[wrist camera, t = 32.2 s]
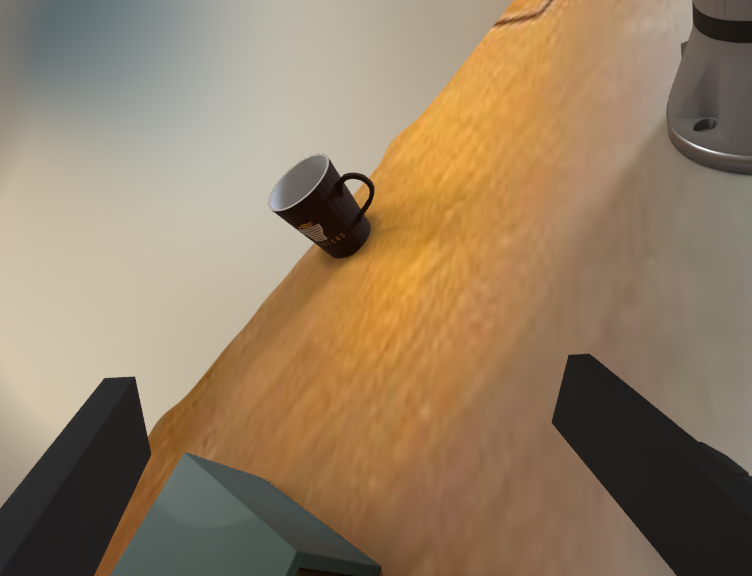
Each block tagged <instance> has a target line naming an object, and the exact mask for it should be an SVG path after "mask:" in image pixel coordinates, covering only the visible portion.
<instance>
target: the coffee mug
mask: <svg viewBox="0 0 752 576" xmlns="http://www.w3.org/2000/svg"><path fill="white" fill-rule="evenodd" d="M348 179H357V180H361V181H363V182H364V183H365V184H367V186H368V187H369V190H370V194H369V198H368V200H367V201H366V203H365V205H364V206H363V207H362V209H360V207H359V206H358V204H357V202H356V201H355V199H354V198H353V196H352V195H351V193H350V191H349V190H348V188H347V187H346V185H345V184H344V182H345V181H346V180H348ZM374 190H375V189H374V185H373V183H372V181H371V180H370V179H368V178H367V177H366V176H365V175H363V174H359V173H347V174H344V175H343V176H342V177H340V175H339V174H338V172H337V171H336V169H335V168H334V166H333V164H332V163H331V161H330V159H329V158H328V156H327V155H325V154H321V153H319V154H314V155H311V156H309V157H307V158H305V159H303V160H302V161H300V162H298V163H297V164H296V165H294V166H293V167H292V168H291V169H289V170H288V171H287V172H286V174H284V175H283V176H282V178H281V179H280V180H279V181H278V183H277V184H276V185H275V187H274V188H273V190H272V192H271V194H270V197H269V201H268V205H269V208H270V209H271V210H272V211H273V212H275V213H276V214H277V215H279V216H280V217H281V218H283V219H284V220H285V221H286V222H288V223H289V224H290V225H292V226H293V227H294V228H296V229H297V230H298V231H300V232H301V233H303V234H304V235H305V236H306V237H307V238H309V239H310V240H312V241H313V242H314V243H315V244H317V245H318V246H319V247H321V248H322V249H323V250H325V251H326V252H327V253H328V254H330V255H331V256H332V257H334V258H344V257H347V256H349V255H351V254H353V253H354V252H356V251H357V250H358V249H359V248H360V247H361V246H362V245H363V244H364V243H365V241H366V240H367V238H368V236H369V233H370V223H369V222H368V220H367V218H366V217H365V215H364V213H365V212H366V210H367V209H368V207H369V206H370V204H371V202H372V199H373V196H374Z"/></svg>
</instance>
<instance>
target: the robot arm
mask: <svg viewBox="0 0 752 576" xmlns="http://www.w3.org/2000/svg"><path fill="white" fill-rule="evenodd" d="M681 55H682V60H681V63H680V65H679V68H678V71H677V74H676V77H675V80H674V83H673V85H672V88H671V91H670V94H669V99H668V103H667V126H668V133H669V136H670V138H671V141H672V142H673V144H674V145H675V146H676V147H677V148H678V149H679V151H681V152H682V153H683V154H684V155H686V156H688V157H689V158H691V159H693V160H695V161H697V162H699V163H701V164H704V165H707V166H710V167H714V168H717V169H722V170H727V171H732V172H740V173H752V0H693V28H692V31H691V34H690V37H689V40H688V41H687V42H684V43H682V44H681ZM552 424H553V425H554V426H555V427H556V429H557V430H558V431H559V432H560V434H561V435H562V436H563V437H564V438H565V440H566V441H567V442H568V443H569V445H570V446H571V447H572V448H573V449H574V451H575V452H576V453H577V454H578V456H579V457H580V458H581V459H582V460H583V462H584V463H585V464H586V465H587V467H588V468H589V469H590V470H591V471H592V473H593V474H594V475H595V476H596V477H597V479H598V480H599V481H600V482H601V484H602V485H603V486H604V487H605V488H606V490H607V491H608V492H609V493H610V495H611V496H612V497H613V498H614V499H615V501H616V502H617V503H618V504H619V506H620V507H621V508H622V509H623V510H624V512H625V513H626V514H627V515H628V517H629V518H630V519H631V520H632V521H633V523H634V524H635V525H636V526H637V528H638V529H639V530H640V531H641V532H642V534H643V535H644V536H645V537H646V538H647V540H648V541H649V542H650V543H651V545H652V546H653V547H654V548H655V549H656V551H657V552H658V553H659V554H660V556H661V557H662V558H663V559H664V560H665V562H666V563H667V564H668V565H669V567H670V568H671V569H672V570H673V571H674V573H675V574H676V575H677V576H752V476H749V474H748V472H747V471H745V470H744V469H743V468H742V467H740V466H739V465H738V464H737V463H735V462H734V461H733V460H732V459H730V458H729V457H728V456H726V455H725V454H723V453H721V452H719V451H717V450H716V449H714V448H712V447H710V446H708V445H707V444H705V443H703V442H698V441H696V440H695V439H694V438H693V437H692V436H690V435H689V434H688V433H687V432H685V431H684V430H683V429H682V428H680V427H679V426H678V425H677V424H676V423H674V422H673V421H672V420H671V419H669V418H668V417H667V416H666V415H664V414H663V413H662V412H661V411H659V410H658V409H657V408H656V407H655V406H653V405H652V404H651V403H650V402H648V401H647V400H646V399H645V398H643V397H642V396H641V395H640V394H639V393H637V392H636V391H635V390H634V389H632V388H631V387H630V386H629V385H627V384H626V383H625V382H624V381H623V380H621V379H620V378H619V377H618V376H616V375H615V374H614V373H613V372H611V371H610V370H609V369H608V368H607V367H605V366H604V365H603V364H602V363H600V362H599V361H598V360H597V359H595V358H594V357H593V356H592V355H590V354H577V355H568V359H567V363H566V367H565V371H564V375H563V379H562V383H561V387H560V391H559V395H558V399H557V403H556V407H555V411H554V415H553V419H552ZM150 456H151V451H150V446H149V441H148V436H147V432H146V427H145V423H144V417H143V413H142V408H141V403H140V398H139V394H138V389H137V385H136V379H135V377H118V378H105V379H103V381H102V382H101V383H100V384H99V386H98V387H97V388H96V390H95V391H94V392H93V393H92V394H91V396H90V397H89V398H88V399H87V401H86V402H85V403H84V405H83V406H82V407H81V408H80V410H79V411H78V412H77V413H76V415H75V416H74V417H73V418H72V420H71V421H70V422H69V423H68V424H67V426H66V427H65V428H64V429H63V431H62V432H61V433H60V435H59V436H58V437H57V438H56V440H55V441H54V442H53V443H52V445H51V446H50V447H49V448H48V449H47V451H46V452H45V453H44V455H43V456H42V457H41V458H40V460H39V461H38V462H37V463H36V464H35V466H34V467H33V468H32V469H31V471H30V472H29V473H28V475H27V476H26V477H25V478H24V480H23V481H22V482H21V483H20V485H19V486H18V487H17V488H16V490H15V491H14V492H13V493H12V495H11V496H10V497H9V498H8V500H7V501H6V502H5V503H4V505H3V506H2V507H1V508H0V576H94V574H95V572H96V570H97V568H98V566H99V564H100V562H101V560H102V557H103V555H104V553H105V551H106V549H107V547H108V545H109V543H110V541H111V538H112V536H113V534H114V532H115V530H116V528H117V526H118V524H119V522H120V519H121V517H122V515H123V513H124V511H125V509H126V507H127V505H128V503H129V500H130V498H131V496H132V494H133V492H134V490H135V488H136V486H137V483H138V481H139V479H140V477H141V475H142V473H143V471H144V469H145V467H146V464H147V462H148V460H149V458H150Z"/></svg>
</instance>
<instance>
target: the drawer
mask: <svg viewBox="0 0 752 576" xmlns="http://www.w3.org/2000/svg"><path fill="white" fill-rule="evenodd" d="M296 576H349V575H346V574H339V573H333V572H326V571H319V570H312V569H306V568H299V570H298V572H297V574H296Z"/></svg>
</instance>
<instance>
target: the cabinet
mask: <svg viewBox="0 0 752 576" xmlns="http://www.w3.org/2000/svg"><path fill="white" fill-rule="evenodd" d="M299 568H306V569H312V570H319V571H326V572H333V573H339V574H346V575H349V576H378V573H379V570H380V568H381V567H380V565H378V564H377V563H376V562H374V561H373V560H371V559H370V558H369V557H367V556H366V555H365V554H363V553H362V552H361V551H359V550H358V549H357V548H355V547H354V546H353V545H351V544H350V543H349V542H347V541H346V540H345V539H343V538H342V537H341V536H339V535H338V534H337V533H335V532H334V531H333V530H331V529H330V528H329V527H327V526H326V525H325V524H323V523H322V522H321V521H319V520H318V519H317V518H315V517H314V516H313V515H311V514H310V513H309V512H307V511H306V510H305V509H303V508H302V507H301V506H299V505H298V504H297V503H295V502H294V501H293V500H291V499H290V498H289V497H287V496H286V495H285V494H283V493H282V492H281V491H279V490H278V489H277V488H275V487H274V486H273V485H271V484H270V483H269V482H267V481H266V480H265V479H263V478H260V477H257V476H255V475H252V474H249V473H246V472H243V471H240V470H237V469H234V468H231V467H228V466H225V465H222V464H219V463H216V462H213V461H210V460H207V459H204V458H201V457H198V456H195V455H192V454H189V453H186V452H185V453H184V454H183V456H182V458H181V459H180V461H179V463H178V464H177V466H176V468H175V469H174V471H173V472H172V474H171V476H170V477H169V479H168V481H167V482H166V484H165V486H164V487H163V489H162V491H161V492H160V494H159V496H158V497H157V499H156V500H155V502H154V504H153V505H152V507H151V509H150V510H149V512H148V514H147V515H146V517H145V519H144V520H143V522H142V524H141V525H140V527H139V528H138V530H137V532H136V533H135V535H134V537H133V538H132V540H131V542H130V543H129V545H128V547H127V548H126V550H125V551H124V553H123V555H122V556H121V558H120V560H119V561H118V563H117V565H116V566H115V568H114V570H113V571H112V573H111V575H110V576H296V574H297V572H298V570H299Z"/></svg>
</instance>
